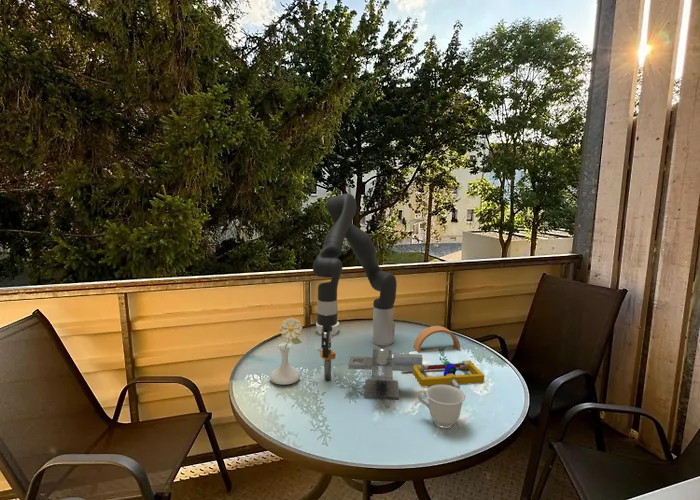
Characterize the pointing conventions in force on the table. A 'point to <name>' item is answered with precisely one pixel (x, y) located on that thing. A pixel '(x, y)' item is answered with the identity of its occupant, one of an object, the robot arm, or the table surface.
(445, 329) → the arch
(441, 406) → the teacup
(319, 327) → the ramekin
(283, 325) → the flower in vase
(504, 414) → the table surface
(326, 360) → the pin
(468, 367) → the mechanical clamp
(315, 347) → the mounting bracket
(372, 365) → the metal cross stand
